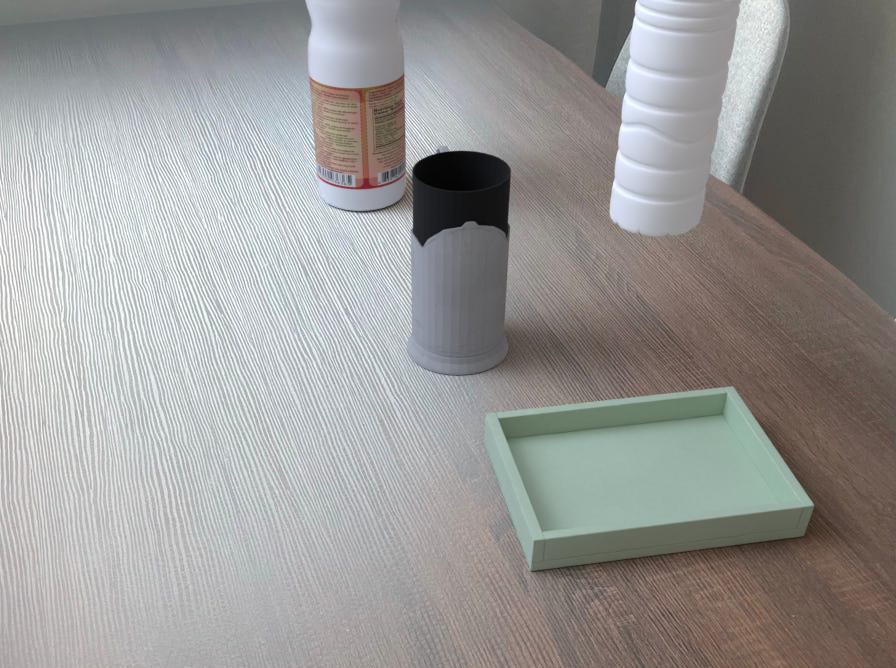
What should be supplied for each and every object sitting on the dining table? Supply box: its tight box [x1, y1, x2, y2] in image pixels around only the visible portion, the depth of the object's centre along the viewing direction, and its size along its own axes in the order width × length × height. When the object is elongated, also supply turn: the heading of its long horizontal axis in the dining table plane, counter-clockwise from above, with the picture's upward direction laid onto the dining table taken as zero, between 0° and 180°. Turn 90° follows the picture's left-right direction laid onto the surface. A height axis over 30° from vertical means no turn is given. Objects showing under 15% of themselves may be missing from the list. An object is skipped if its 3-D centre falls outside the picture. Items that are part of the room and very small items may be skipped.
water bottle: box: [609, 0, 742, 238], centre depth 65 cm, size 9×6×25 cm
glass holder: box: [406, 145, 512, 376], centre depth 85 cm, size 9×14×15 cm, turn 9°
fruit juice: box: [304, 0, 407, 212], centre depth 99 cm, size 9×9×28 cm
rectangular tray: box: [483, 386, 815, 572], centre depth 74 cm, size 20×15×3 cm
